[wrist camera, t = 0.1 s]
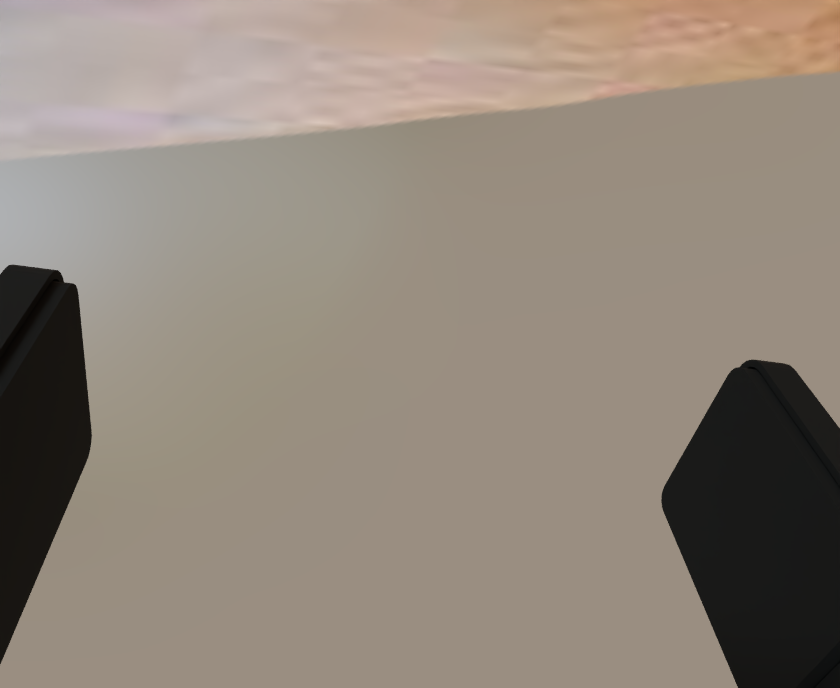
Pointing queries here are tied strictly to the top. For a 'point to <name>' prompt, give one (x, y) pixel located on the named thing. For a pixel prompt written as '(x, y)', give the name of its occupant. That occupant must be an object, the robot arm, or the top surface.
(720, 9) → the top surface
